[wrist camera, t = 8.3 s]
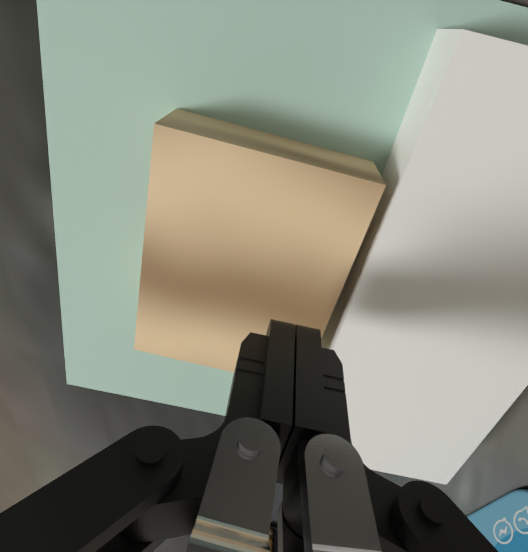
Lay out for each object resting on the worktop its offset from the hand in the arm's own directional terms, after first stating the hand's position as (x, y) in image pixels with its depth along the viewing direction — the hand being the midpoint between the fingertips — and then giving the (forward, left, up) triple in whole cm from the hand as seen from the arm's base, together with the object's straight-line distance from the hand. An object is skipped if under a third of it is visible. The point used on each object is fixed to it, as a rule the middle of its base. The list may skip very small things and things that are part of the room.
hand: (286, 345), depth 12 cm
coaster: (0, -2, -5) cm, 5 cm away
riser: (0, +6, -5) cm, 8 cm away
